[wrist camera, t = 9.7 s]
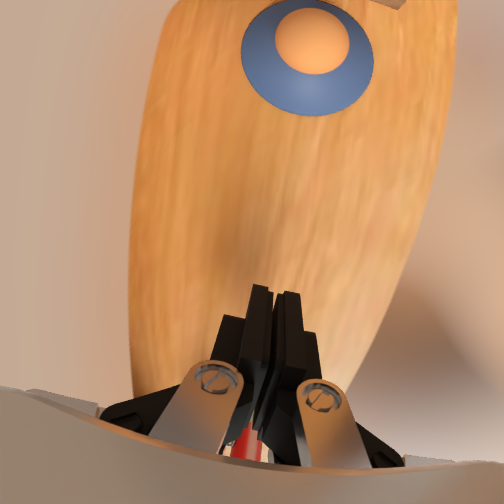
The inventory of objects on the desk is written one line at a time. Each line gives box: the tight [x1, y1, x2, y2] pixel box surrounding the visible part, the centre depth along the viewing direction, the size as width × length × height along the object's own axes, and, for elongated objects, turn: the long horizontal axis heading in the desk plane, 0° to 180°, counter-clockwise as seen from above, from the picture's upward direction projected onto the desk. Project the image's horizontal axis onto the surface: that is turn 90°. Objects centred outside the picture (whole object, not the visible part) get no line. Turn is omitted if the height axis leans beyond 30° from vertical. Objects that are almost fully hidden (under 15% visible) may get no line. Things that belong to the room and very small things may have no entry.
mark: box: [241, 0, 374, 116], centre depth 23 cm, size 12×12×1 cm
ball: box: [275, 8, 349, 75], centre depth 20 cm, size 6×6×6 cm
